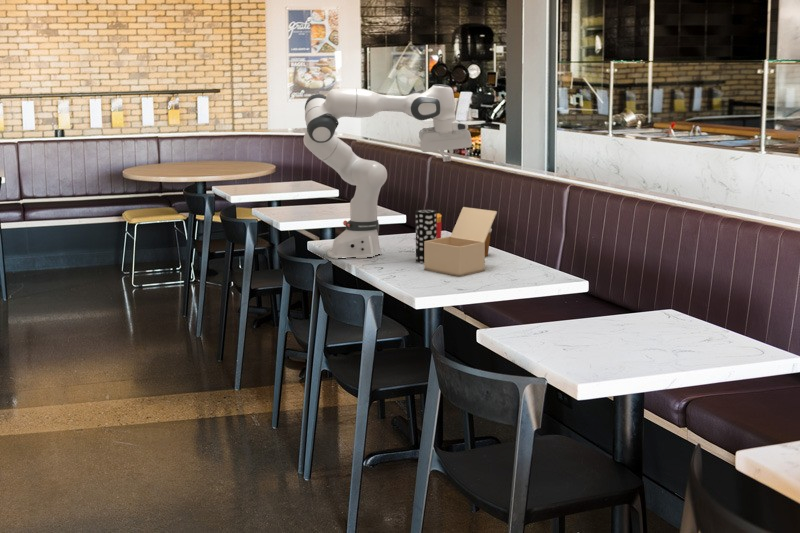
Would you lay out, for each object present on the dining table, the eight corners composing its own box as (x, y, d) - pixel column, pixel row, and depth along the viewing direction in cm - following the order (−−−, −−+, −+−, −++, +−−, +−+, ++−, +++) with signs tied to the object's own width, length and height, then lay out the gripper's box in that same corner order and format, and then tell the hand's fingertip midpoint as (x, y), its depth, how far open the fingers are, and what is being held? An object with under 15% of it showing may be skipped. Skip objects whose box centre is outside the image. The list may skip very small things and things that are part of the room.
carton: (459, 276, 357) (459, 247, 354) (424, 269, 369) (424, 241, 367) (484, 270, 366) (484, 242, 364) (449, 264, 379) (449, 236, 376)
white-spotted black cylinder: (422, 258, 391) (422, 209, 387) (440, 260, 387) (440, 210, 383) (412, 262, 384) (411, 211, 380) (430, 264, 380) (430, 213, 376)
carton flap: (496, 211, 367) (497, 211, 367) (463, 206, 379) (463, 207, 379) (483, 241, 364) (484, 242, 365) (450, 236, 376) (451, 237, 376)
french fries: (425, 241, 427) (425, 212, 424) (433, 240, 429) (433, 211, 426) (435, 245, 419) (435, 215, 416) (444, 244, 421) (444, 214, 418)
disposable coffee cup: (493, 253, 398) (493, 225, 396) (489, 258, 389) (489, 228, 387) (470, 252, 401) (471, 224, 398) (466, 257, 392) (466, 228, 389)
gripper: (420, 129, 374) (422, 165, 378) (471, 124, 377) (473, 159, 381) (417, 127, 380) (419, 162, 384) (468, 122, 383) (470, 157, 387)
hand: (447, 161), depth 382 cm, fingers closed
